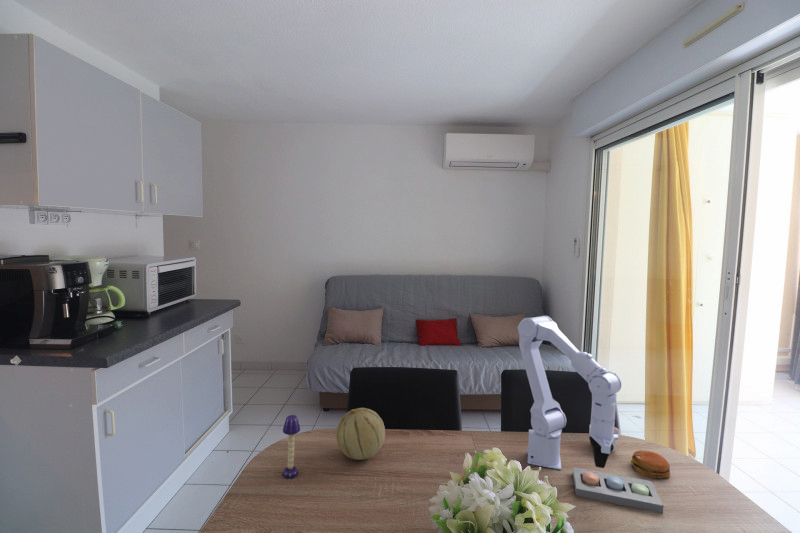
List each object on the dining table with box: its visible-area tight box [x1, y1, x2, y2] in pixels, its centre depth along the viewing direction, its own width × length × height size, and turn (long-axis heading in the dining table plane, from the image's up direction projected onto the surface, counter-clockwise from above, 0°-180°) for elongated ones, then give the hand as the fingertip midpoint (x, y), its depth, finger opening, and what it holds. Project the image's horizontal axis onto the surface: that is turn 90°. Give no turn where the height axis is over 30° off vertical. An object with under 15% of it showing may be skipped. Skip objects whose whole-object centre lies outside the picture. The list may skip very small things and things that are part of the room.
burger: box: [630, 450, 671, 479], centre depth 122 cm, size 10×9×5 cm
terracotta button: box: [581, 472, 599, 486], centre depth 112 cm, size 4×4×2 cm
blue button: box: [606, 476, 624, 491], centre depth 110 cm, size 4×4×2 cm
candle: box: [589, 423, 621, 453], centre depth 135 cm, size 9×9×6 cm
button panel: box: [572, 466, 664, 514], centre depth 110 cm, size 20×11×2 cm, turn 72°
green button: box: [631, 483, 649, 496], centre depth 108 cm, size 4×4×2 cm
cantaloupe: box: [335, 407, 386, 461], centre depth 125 cm, size 15×15×15 cm
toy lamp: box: [282, 414, 301, 479], centre depth 114 cm, size 5×5×17 cm
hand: (599, 466), depth 111 cm, fingers closed
